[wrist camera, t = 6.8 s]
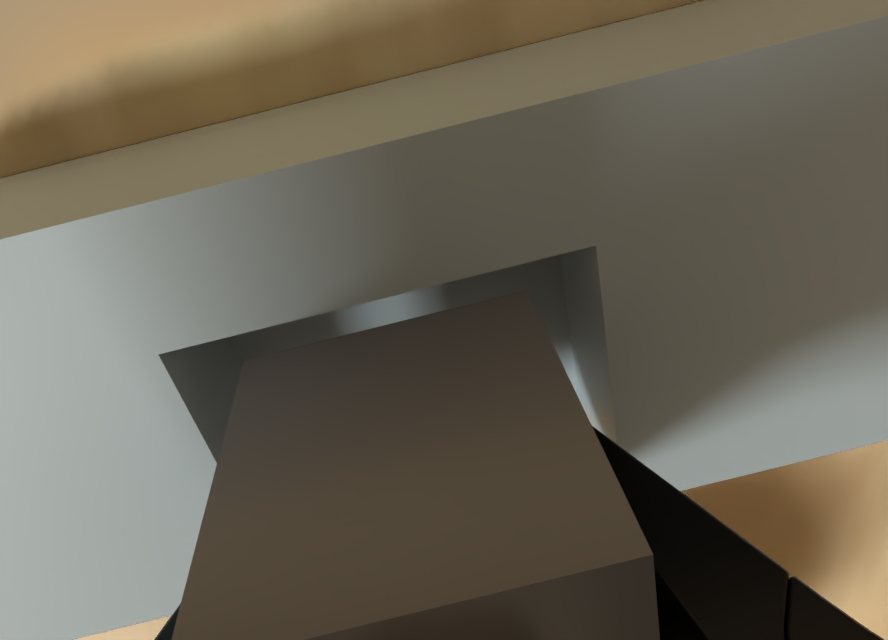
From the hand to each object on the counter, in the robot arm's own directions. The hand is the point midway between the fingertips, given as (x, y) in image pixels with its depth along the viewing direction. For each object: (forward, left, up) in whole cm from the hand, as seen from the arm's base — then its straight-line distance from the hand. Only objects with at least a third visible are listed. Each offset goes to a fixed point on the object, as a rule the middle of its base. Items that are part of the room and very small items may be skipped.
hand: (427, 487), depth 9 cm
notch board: (0, -1, -4) cm, 5 cm away
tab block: (0, 0, -1) cm, 1 cm away
